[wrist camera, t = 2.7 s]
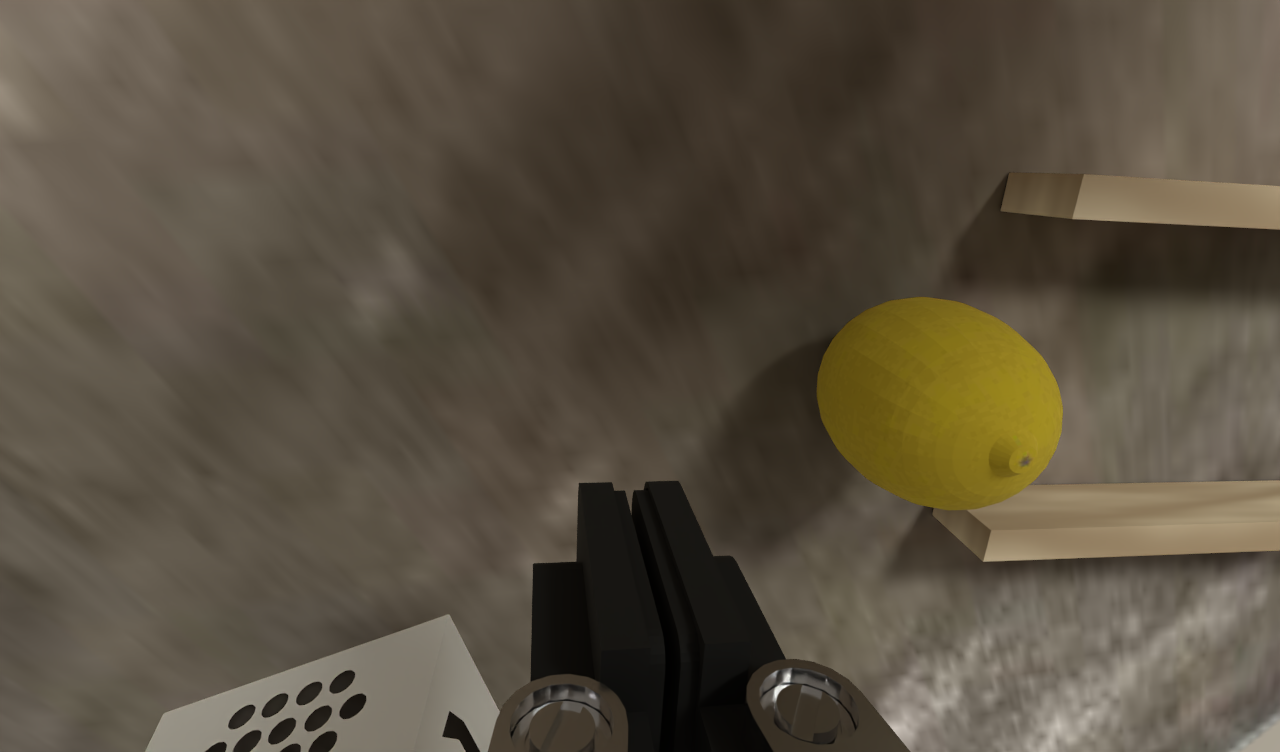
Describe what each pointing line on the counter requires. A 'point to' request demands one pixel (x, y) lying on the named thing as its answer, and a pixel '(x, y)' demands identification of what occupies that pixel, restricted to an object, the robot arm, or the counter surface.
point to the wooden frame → (1129, 511)
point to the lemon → (939, 403)
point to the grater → (384, 672)
